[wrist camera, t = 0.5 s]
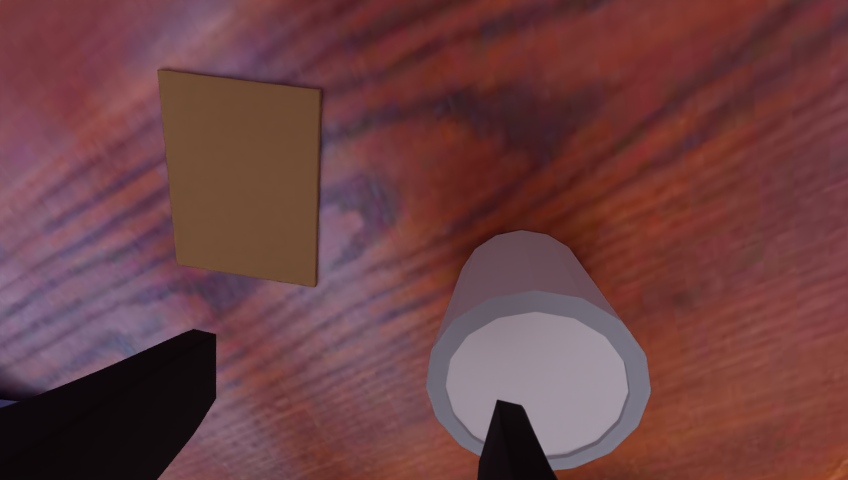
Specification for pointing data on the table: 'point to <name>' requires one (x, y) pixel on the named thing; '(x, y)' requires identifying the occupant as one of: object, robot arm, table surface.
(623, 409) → the pale grey cylinder
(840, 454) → the table surface
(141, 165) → the table surface
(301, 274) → the mat
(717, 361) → the table surface
